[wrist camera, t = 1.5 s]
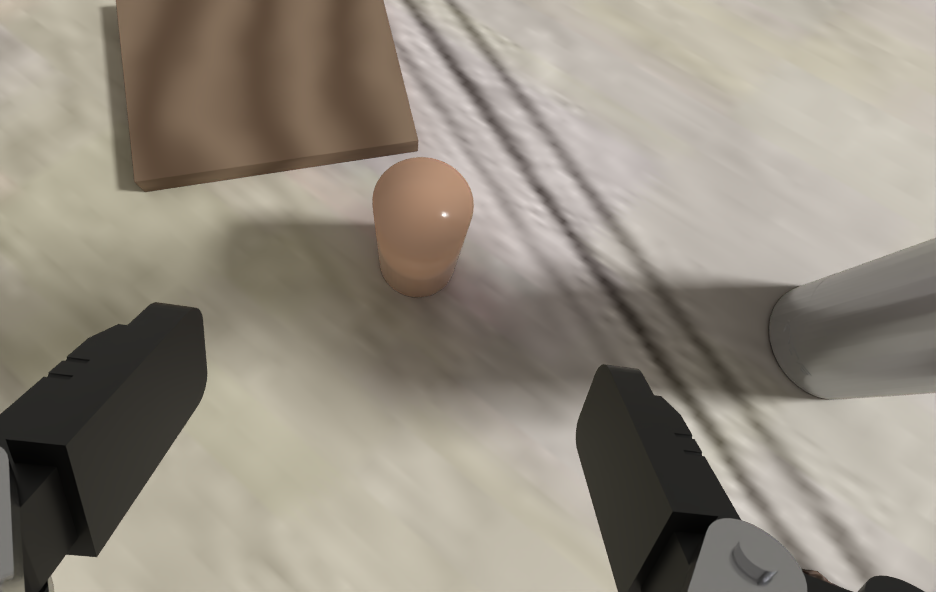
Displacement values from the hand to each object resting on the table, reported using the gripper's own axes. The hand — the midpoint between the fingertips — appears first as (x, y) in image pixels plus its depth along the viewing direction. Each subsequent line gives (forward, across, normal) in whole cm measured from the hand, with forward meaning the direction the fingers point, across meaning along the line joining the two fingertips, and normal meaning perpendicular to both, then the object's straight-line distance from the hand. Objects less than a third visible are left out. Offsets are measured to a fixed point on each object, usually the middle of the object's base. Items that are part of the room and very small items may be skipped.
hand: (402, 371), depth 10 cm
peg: (+26, 0, +10) cm, 27 cm away
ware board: (+35, +14, 0) cm, 38 cm away
